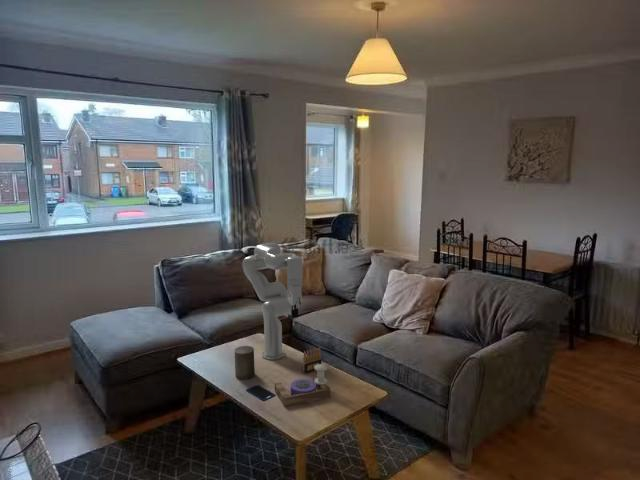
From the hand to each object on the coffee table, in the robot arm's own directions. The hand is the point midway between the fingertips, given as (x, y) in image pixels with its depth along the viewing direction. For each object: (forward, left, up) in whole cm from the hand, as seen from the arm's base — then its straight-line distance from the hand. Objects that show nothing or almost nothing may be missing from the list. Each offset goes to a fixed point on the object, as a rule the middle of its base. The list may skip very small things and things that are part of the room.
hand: (294, 316), depth 231 cm
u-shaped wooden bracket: (+23, -5, -29) cm, 37 cm away
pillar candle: (-5, -25, -29) cm, 39 cm away
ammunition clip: (+3, +8, -29) cm, 31 cm away
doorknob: (+23, +5, -25) cm, 34 cm away
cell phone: (+15, -22, -30) cm, 40 cm away
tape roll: (+24, -4, -29) cm, 38 cm away
